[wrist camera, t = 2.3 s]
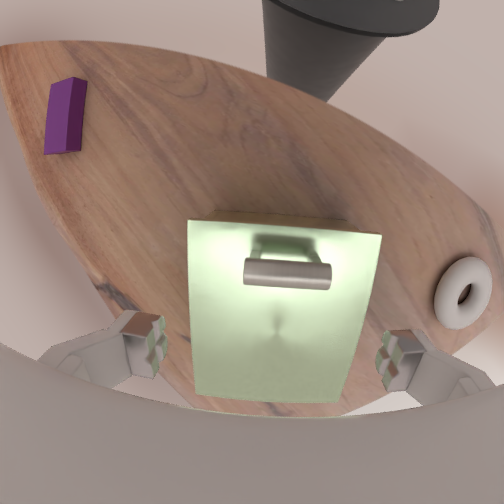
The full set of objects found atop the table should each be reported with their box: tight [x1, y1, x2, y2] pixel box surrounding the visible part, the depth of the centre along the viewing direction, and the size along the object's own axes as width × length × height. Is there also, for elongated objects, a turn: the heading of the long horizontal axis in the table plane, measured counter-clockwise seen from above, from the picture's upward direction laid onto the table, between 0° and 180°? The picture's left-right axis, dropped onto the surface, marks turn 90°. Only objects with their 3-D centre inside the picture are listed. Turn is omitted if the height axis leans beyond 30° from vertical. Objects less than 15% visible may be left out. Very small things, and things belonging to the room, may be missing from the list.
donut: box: [434, 257, 492, 330], centre depth 27 cm, size 10×4×10 cm
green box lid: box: [187, 218, 382, 403], centre depth 19 cm, size 16×14×5 cm
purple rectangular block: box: [44, 77, 87, 155], centre depth 24 cm, size 9×4×3 cm, turn 177°
